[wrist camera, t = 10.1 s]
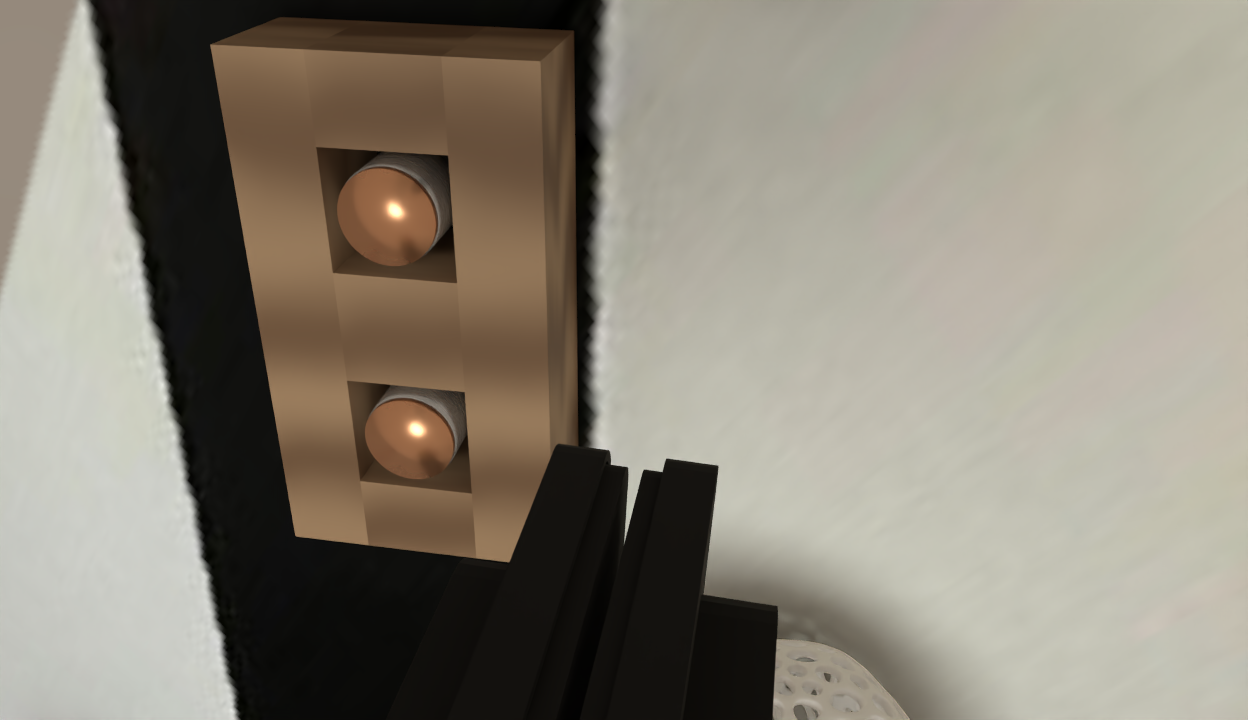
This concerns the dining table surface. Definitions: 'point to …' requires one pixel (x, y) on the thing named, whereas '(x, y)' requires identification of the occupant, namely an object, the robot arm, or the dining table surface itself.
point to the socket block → (410, 265)
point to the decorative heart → (828, 685)
